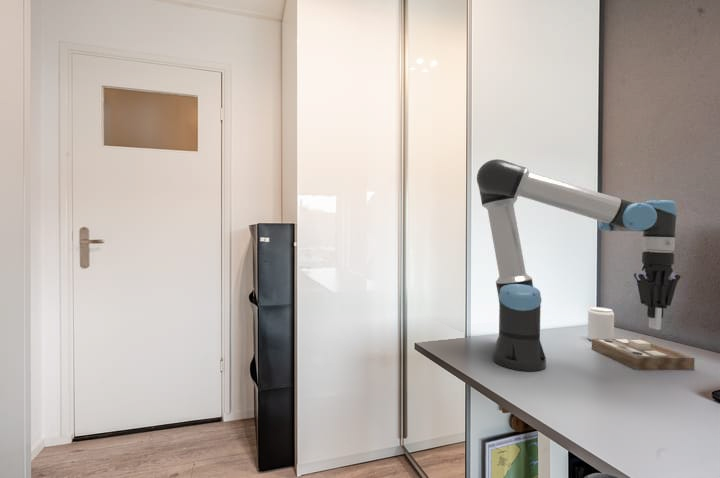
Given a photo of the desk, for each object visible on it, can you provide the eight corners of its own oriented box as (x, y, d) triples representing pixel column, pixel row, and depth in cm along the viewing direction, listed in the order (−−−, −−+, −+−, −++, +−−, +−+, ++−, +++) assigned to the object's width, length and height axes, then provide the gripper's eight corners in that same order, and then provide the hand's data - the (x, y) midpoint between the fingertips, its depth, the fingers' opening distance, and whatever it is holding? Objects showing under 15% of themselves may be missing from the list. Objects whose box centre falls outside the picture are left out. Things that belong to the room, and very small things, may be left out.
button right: (654, 366, 108) (654, 355, 108) (643, 361, 112) (643, 350, 112) (666, 366, 108) (667, 355, 108) (655, 361, 112) (655, 350, 112)
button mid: (638, 354, 114) (638, 343, 114) (628, 350, 118) (628, 339, 118) (650, 354, 114) (650, 343, 114) (639, 349, 118) (640, 339, 118)
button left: (623, 352, 120) (623, 342, 120) (614, 349, 124) (614, 339, 124) (634, 352, 120) (635, 342, 120) (625, 349, 124) (625, 339, 124)
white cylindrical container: (618, 344, 131) (619, 311, 131) (596, 343, 131) (597, 311, 131) (604, 337, 139) (604, 306, 139) (583, 337, 139) (583, 306, 139)
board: (635, 369, 106) (635, 357, 106) (591, 348, 125) (591, 338, 125) (694, 369, 107) (694, 356, 107) (641, 348, 126) (642, 338, 126)
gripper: (647, 251, 105) (644, 331, 106) (690, 252, 106) (686, 332, 106) (627, 250, 113) (624, 324, 113) (667, 251, 113) (664, 325, 114)
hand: (654, 328), depth 110 cm, fingers closed
